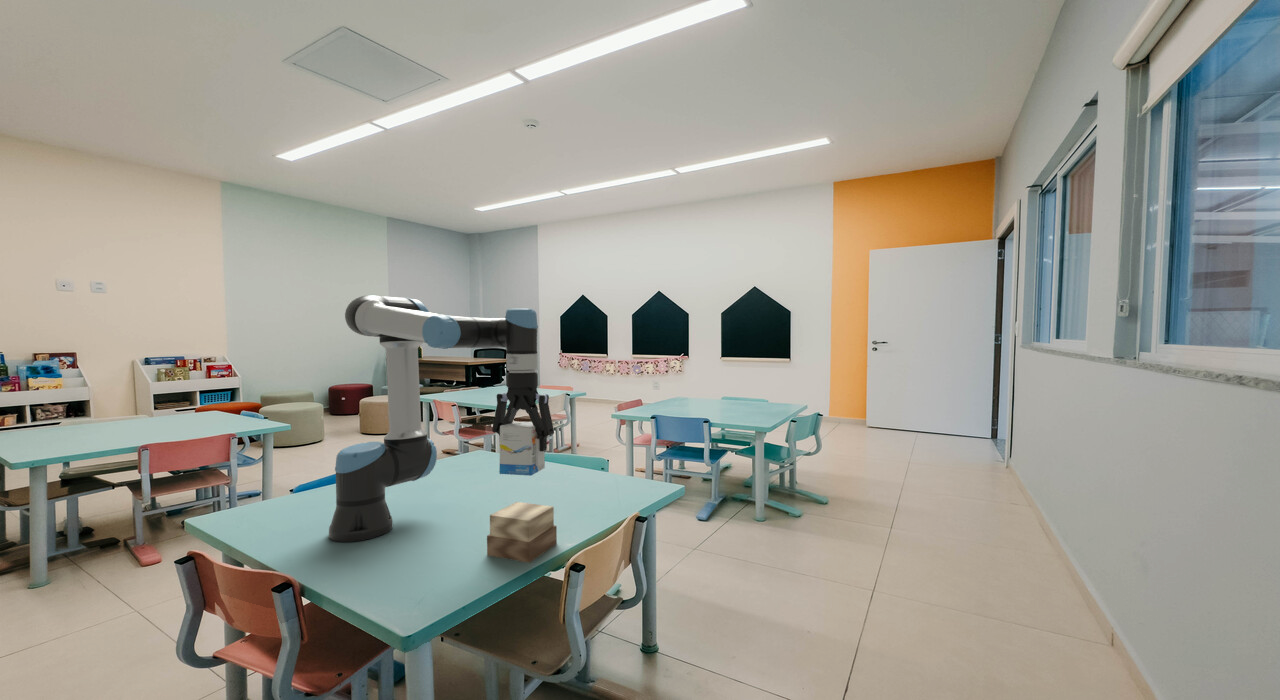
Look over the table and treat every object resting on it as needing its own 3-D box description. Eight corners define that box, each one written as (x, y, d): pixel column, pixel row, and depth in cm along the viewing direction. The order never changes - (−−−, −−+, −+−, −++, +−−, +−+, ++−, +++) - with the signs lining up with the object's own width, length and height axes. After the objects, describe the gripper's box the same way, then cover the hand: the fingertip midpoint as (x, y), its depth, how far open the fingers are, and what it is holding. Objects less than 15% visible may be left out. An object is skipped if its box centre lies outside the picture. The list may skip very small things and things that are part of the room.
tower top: (489, 535, 122) (489, 515, 122) (516, 521, 132) (516, 501, 132) (529, 542, 118) (528, 520, 118) (553, 526, 128) (553, 506, 128)
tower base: (487, 556, 122) (487, 535, 122) (516, 538, 133) (516, 519, 133) (529, 564, 118) (529, 542, 118) (556, 545, 129) (556, 525, 129)
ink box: (531, 476, 120) (531, 426, 120) (498, 474, 122) (498, 425, 122) (545, 468, 129) (545, 421, 129) (514, 466, 130) (515, 420, 130)
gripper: (476, 371, 126) (477, 462, 126) (552, 372, 118) (553, 470, 118) (495, 370, 133) (496, 456, 133) (568, 371, 125) (569, 462, 125)
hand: (523, 462), depth 125 cm, fingers closed on ink box, 9 cm apart
